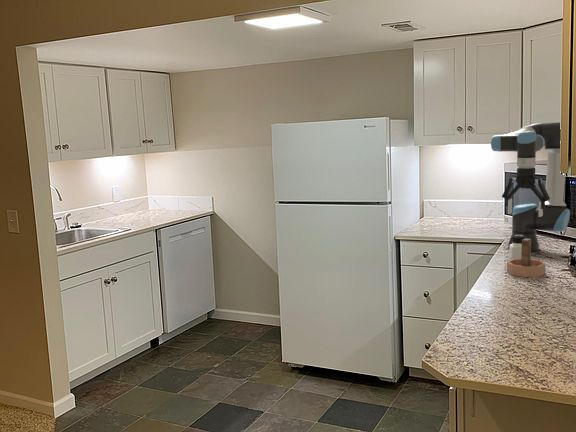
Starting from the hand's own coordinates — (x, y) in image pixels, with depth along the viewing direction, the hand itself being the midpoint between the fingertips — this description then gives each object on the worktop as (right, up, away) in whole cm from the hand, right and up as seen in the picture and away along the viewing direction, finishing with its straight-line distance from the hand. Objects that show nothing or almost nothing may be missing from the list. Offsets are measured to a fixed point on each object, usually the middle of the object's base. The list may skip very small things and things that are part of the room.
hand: (524, 215), depth 262 cm
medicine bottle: (+6, -22, +23) cm, 32 cm away
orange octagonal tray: (+1, -25, +1) cm, 26 cm away
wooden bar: (0, -25, 0) cm, 25 cm away
